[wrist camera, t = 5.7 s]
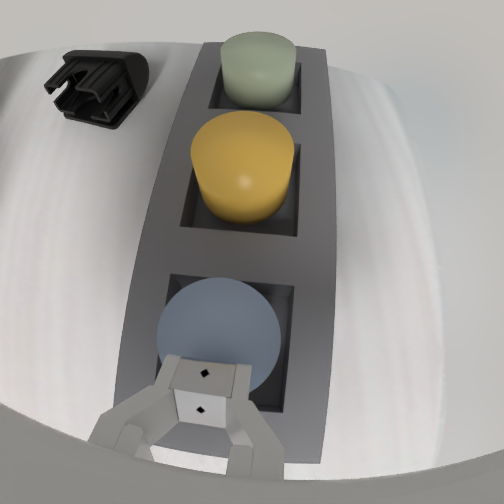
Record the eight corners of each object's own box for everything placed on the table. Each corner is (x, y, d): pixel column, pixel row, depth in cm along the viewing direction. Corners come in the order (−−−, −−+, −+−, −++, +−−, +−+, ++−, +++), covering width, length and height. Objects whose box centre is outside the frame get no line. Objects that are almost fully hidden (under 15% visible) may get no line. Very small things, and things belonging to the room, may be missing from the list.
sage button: (219, 107, 20) (213, 68, 16) (229, 67, 21) (226, 30, 18) (291, 112, 19) (296, 72, 16) (292, 70, 21) (296, 34, 18)
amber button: (194, 221, 17) (180, 186, 13) (209, 149, 18) (201, 109, 15) (285, 228, 17) (292, 195, 13) (289, 155, 18) (295, 114, 15)
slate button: (172, 384, 14) (149, 389, 11) (184, 291, 16) (166, 271, 13) (270, 397, 14) (274, 406, 11) (279, 301, 16) (285, 283, 12)
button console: (157, 413, 20) (111, 433, 12) (213, 106, 30) (203, 42, 22) (298, 431, 20) (320, 463, 12) (313, 113, 29) (325, 49, 22)
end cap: (156, 87, 31) (142, 41, 25) (119, 132, 29) (96, 85, 23) (96, 79, 33) (79, 40, 26) (61, 117, 30) (37, 79, 24)
